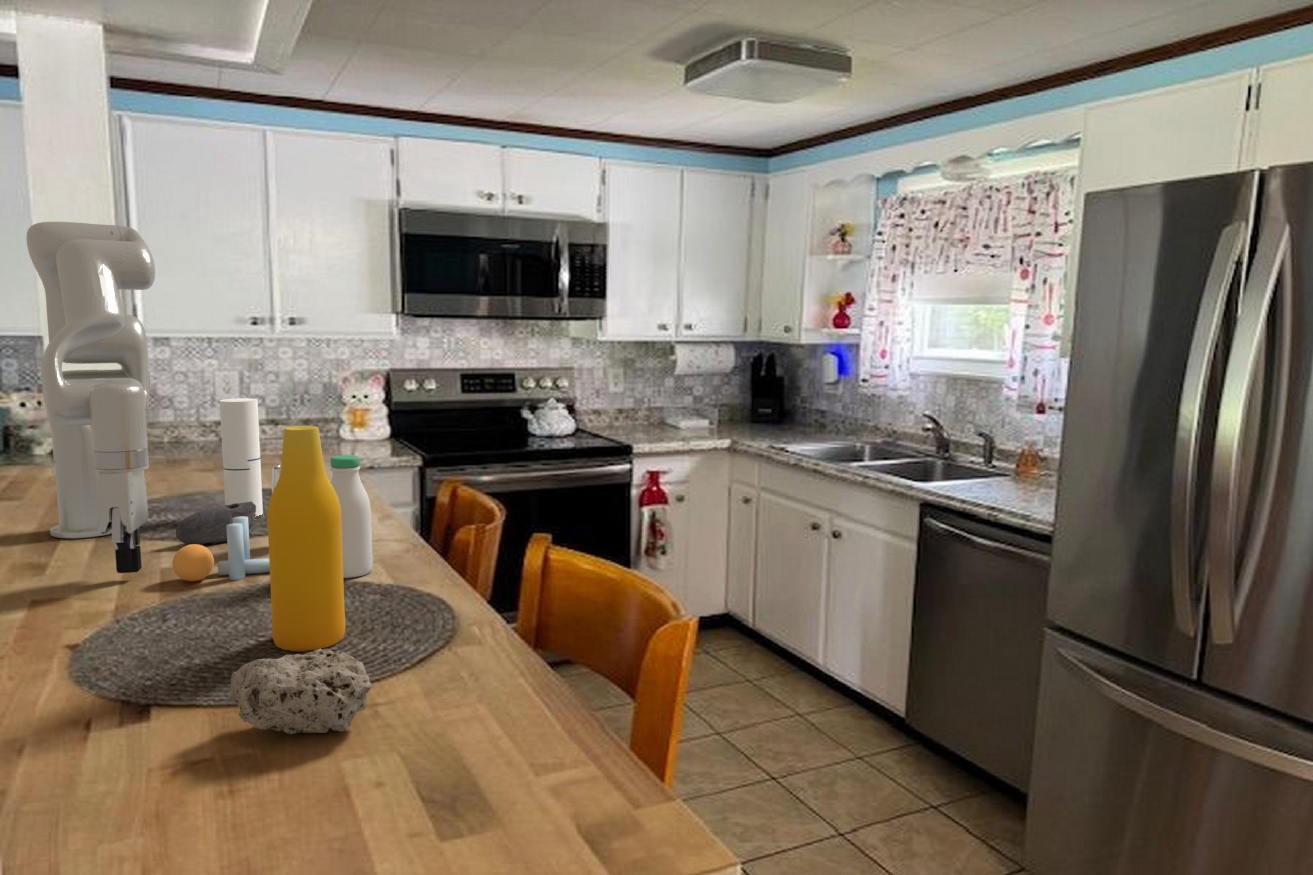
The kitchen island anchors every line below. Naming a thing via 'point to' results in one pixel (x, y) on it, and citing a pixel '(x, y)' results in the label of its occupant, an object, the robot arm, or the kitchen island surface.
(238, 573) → the pin back left
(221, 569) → the pin front
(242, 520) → the pin back right
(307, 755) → the kitchen island surface
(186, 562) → the ball
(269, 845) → the kitchen island surface
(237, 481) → the cylindrical container
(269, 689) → the pumice stone
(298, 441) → the beer bottle
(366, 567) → the milk bottle
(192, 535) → the perforated stone tool
